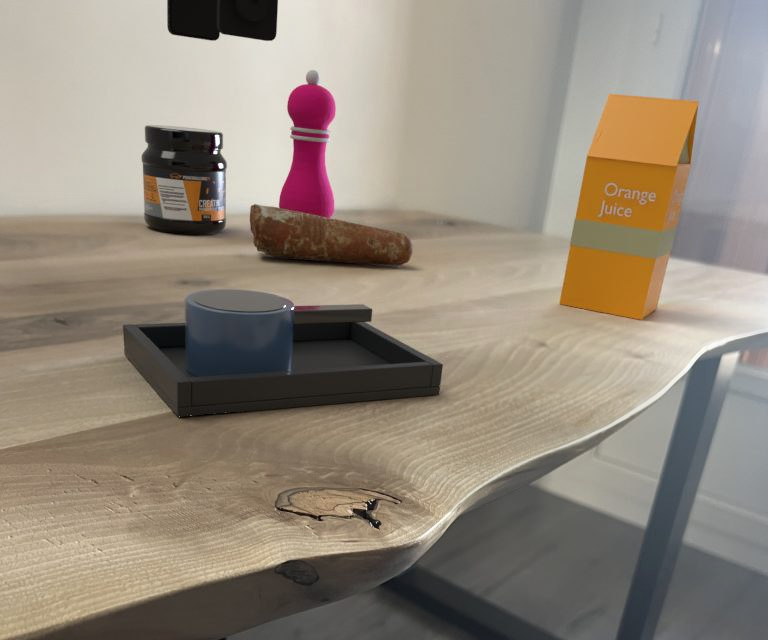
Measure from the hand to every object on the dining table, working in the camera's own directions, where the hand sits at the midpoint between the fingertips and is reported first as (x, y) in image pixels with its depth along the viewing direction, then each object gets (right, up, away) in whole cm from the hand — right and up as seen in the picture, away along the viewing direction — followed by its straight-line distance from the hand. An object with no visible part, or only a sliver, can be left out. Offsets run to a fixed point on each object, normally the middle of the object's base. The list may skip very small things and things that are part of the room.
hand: (218, 37), depth 48 cm
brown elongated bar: (+3, +2, +48) cm, 49 cm away
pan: (+3, -18, +7) cm, 20 cm away
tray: (+3, -19, +7) cm, 20 cm away
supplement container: (-16, +9, +59) cm, 62 cm away
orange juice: (+34, -6, +39) cm, 52 cm away
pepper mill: (-1, +8, +61) cm, 61 cm away
